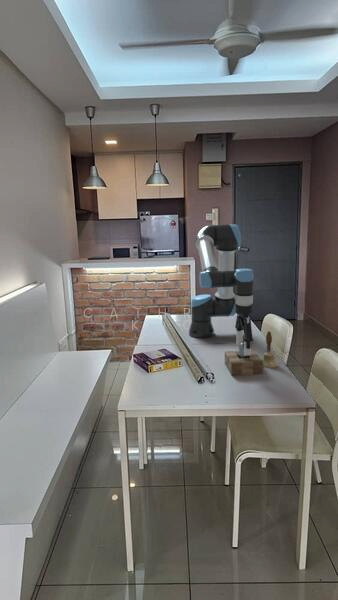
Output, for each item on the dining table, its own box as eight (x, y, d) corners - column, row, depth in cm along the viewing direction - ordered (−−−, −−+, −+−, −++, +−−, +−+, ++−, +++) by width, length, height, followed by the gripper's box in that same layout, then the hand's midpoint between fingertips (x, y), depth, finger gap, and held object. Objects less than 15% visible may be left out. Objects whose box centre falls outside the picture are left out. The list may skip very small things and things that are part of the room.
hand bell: (265, 369, 167) (266, 335, 163) (256, 362, 174) (257, 330, 171) (281, 366, 169) (282, 333, 165) (271, 360, 177) (272, 328, 173)
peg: (238, 366, 170) (238, 342, 167) (245, 366, 170) (246, 342, 167) (239, 370, 166) (240, 345, 164) (247, 369, 166) (248, 344, 164)
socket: (224, 363, 174) (224, 351, 173) (253, 361, 175) (253, 350, 174) (231, 375, 161) (231, 363, 159) (262, 374, 161) (263, 361, 160)
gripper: (229, 298, 173) (228, 340, 178) (243, 311, 149) (242, 360, 154) (244, 297, 173) (244, 340, 178) (261, 310, 149) (259, 359, 154)
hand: (243, 349), depth 166 cm, fingers open, 13 cm apart
